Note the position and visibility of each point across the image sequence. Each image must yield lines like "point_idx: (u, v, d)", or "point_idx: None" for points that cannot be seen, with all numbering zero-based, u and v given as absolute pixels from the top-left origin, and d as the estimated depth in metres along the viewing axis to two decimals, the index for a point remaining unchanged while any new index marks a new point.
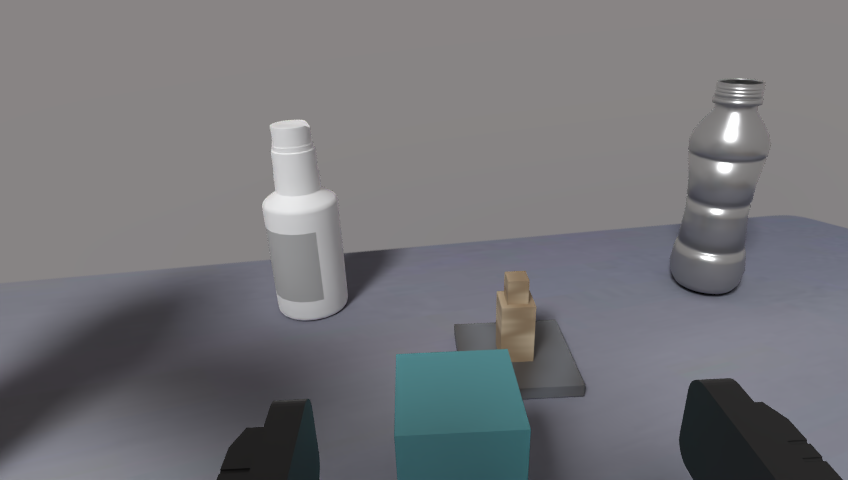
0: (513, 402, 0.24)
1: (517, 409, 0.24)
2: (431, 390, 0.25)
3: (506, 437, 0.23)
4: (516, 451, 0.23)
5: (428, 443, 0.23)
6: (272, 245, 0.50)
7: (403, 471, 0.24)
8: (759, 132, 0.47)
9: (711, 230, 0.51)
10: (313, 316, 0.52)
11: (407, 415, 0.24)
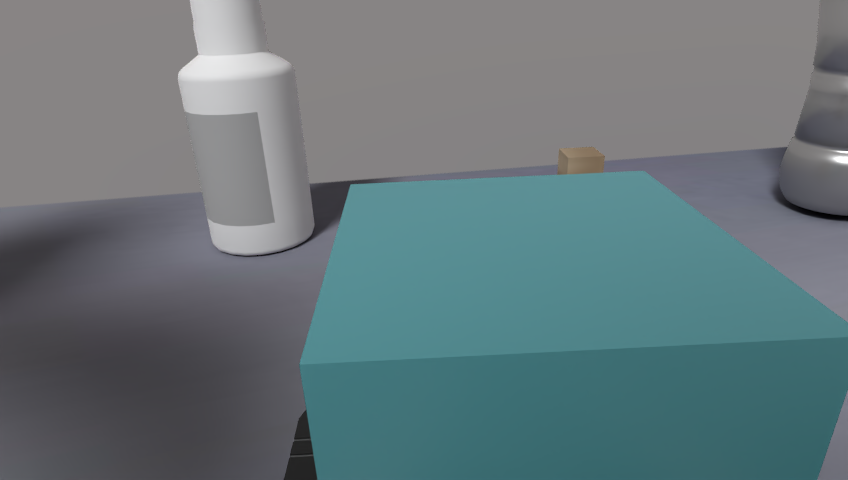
0: (733, 263, 0.07)
1: (761, 280, 0.07)
2: (447, 242, 0.08)
3: (759, 371, 0.06)
4: (783, 430, 0.06)
5: (441, 396, 0.06)
6: (193, 136, 0.33)
7: None
8: None
9: None
10: (259, 249, 0.35)
11: (363, 301, 0.07)
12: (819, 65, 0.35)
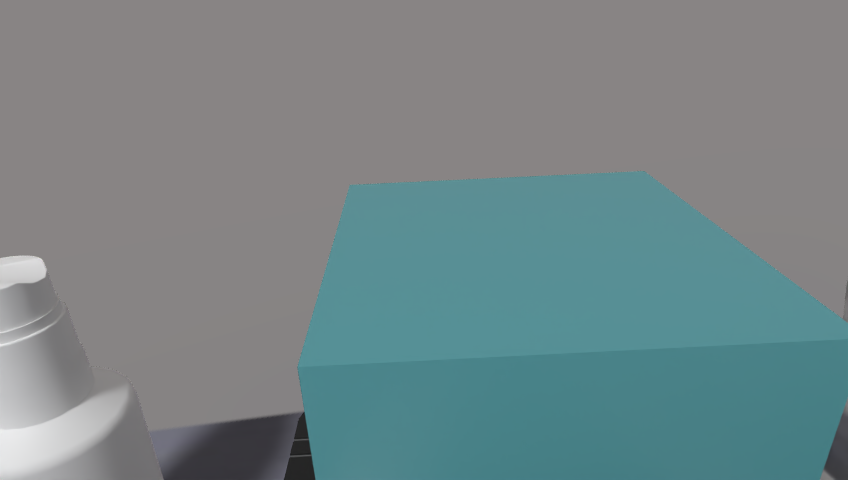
0: (734, 264, 0.07)
1: (762, 281, 0.07)
2: (446, 243, 0.08)
3: (760, 373, 0.06)
4: (785, 432, 0.06)
5: (441, 399, 0.06)
6: None
7: None
8: None
9: None
10: None
11: (362, 302, 0.06)
12: None
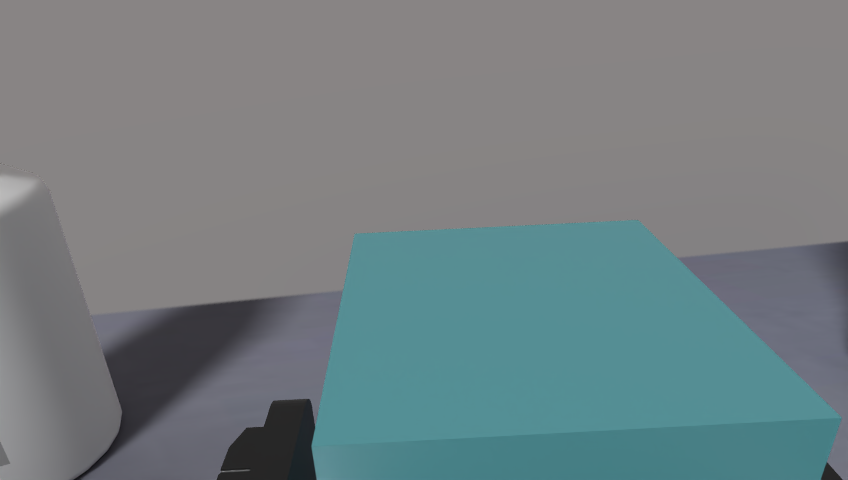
0: (721, 332, 0.07)
1: (746, 352, 0.07)
2: (449, 304, 0.08)
3: (742, 449, 0.06)
4: None
5: (444, 473, 0.06)
6: None
7: None
8: None
9: None
10: None
11: (369, 373, 0.07)
12: None
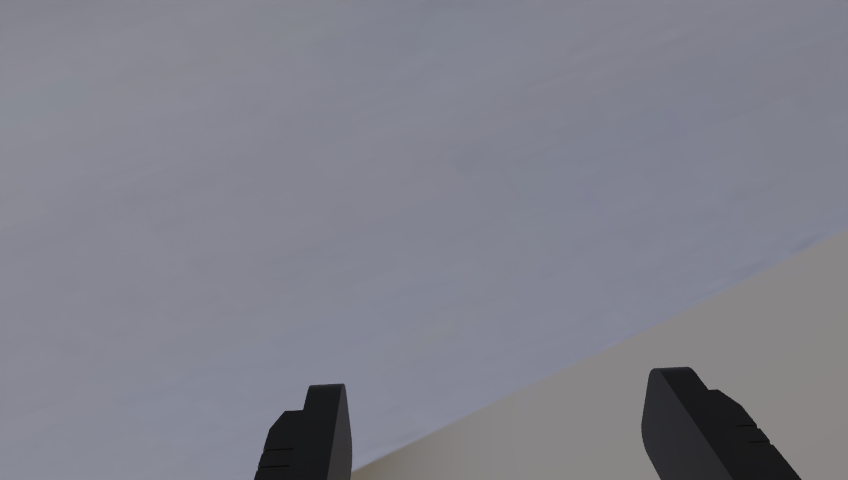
0: None
1: None
2: None
3: None
4: None
5: None
6: None
7: None
8: None
9: None
10: None
11: None
12: None
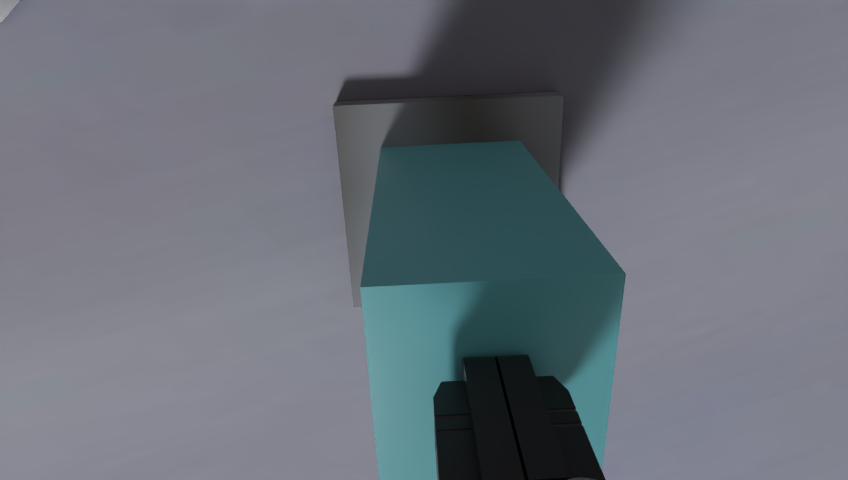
0: (590, 420, 0.13)
1: (592, 434, 0.14)
2: None
3: None
4: None
5: None
6: None
7: None
8: None
9: None
10: None
11: (398, 446, 0.13)
12: None
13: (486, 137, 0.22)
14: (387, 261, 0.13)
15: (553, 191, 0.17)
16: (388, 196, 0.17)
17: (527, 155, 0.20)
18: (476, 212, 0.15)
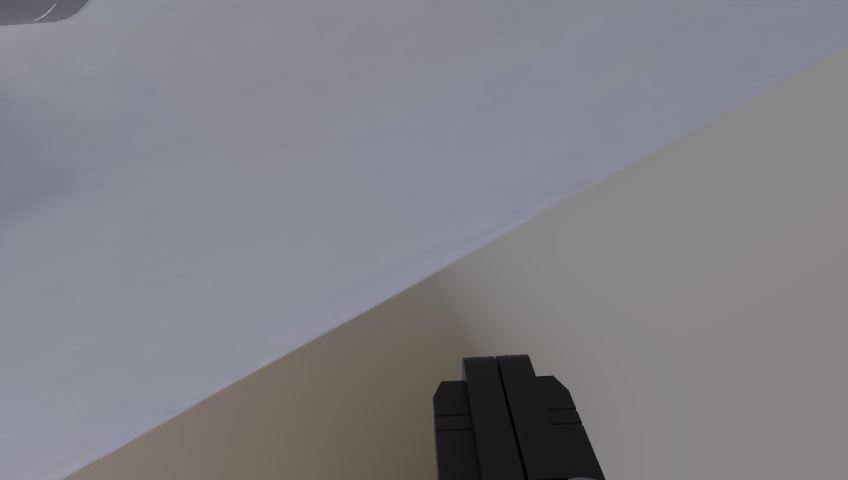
0: None
1: None
2: None
3: None
4: None
5: None
6: None
7: None
8: None
9: None
10: None
11: None
12: None
13: None
14: None
15: None
16: None
17: None
18: None
